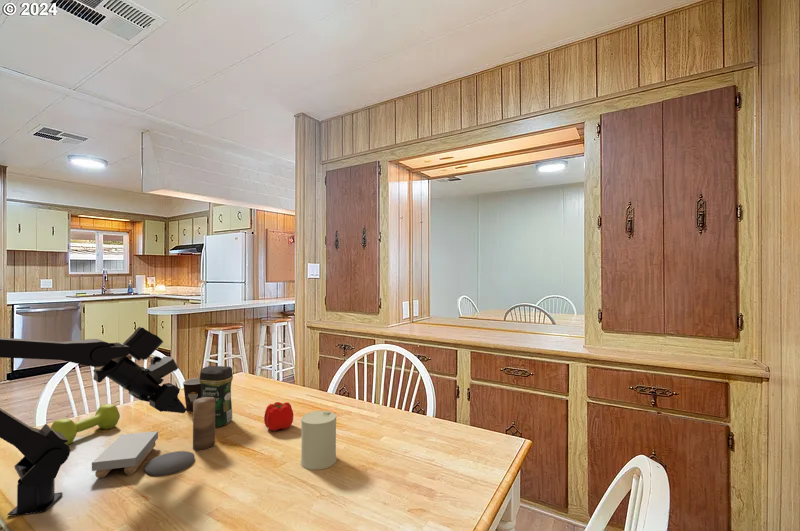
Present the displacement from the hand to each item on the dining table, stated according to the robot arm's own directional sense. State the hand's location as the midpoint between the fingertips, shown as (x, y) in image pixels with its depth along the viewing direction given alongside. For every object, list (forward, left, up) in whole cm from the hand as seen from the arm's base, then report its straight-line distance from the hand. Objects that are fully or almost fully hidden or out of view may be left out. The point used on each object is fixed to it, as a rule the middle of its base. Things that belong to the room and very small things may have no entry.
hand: (177, 407), depth 104 cm
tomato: (+12, -26, -13) cm, 31 cm away
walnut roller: (+4, -6, -13) cm, 15 cm away
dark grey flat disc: (-5, 0, -13) cm, 14 cm away
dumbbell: (+21, +30, -13) cm, 39 cm away
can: (-13, -37, -13) cm, 41 cm away
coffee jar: (+21, -6, -13) cm, 26 cm away
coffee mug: (+36, +2, -13) cm, 39 cm away
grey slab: (-1, +11, -13) cm, 17 cm away
